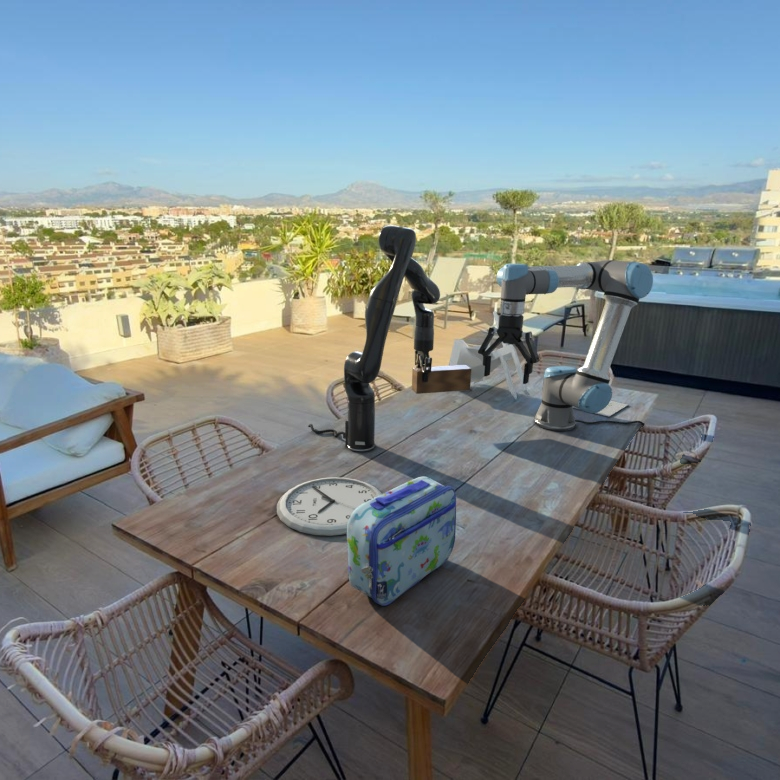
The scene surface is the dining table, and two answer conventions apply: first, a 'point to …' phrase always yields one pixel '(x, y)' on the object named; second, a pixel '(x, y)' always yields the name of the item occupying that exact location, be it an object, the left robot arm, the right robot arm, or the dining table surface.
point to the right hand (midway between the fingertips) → (505, 379)
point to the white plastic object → (475, 360)
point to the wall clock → (324, 504)
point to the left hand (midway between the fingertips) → (422, 379)
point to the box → (442, 379)
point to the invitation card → (611, 408)
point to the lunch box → (400, 538)
